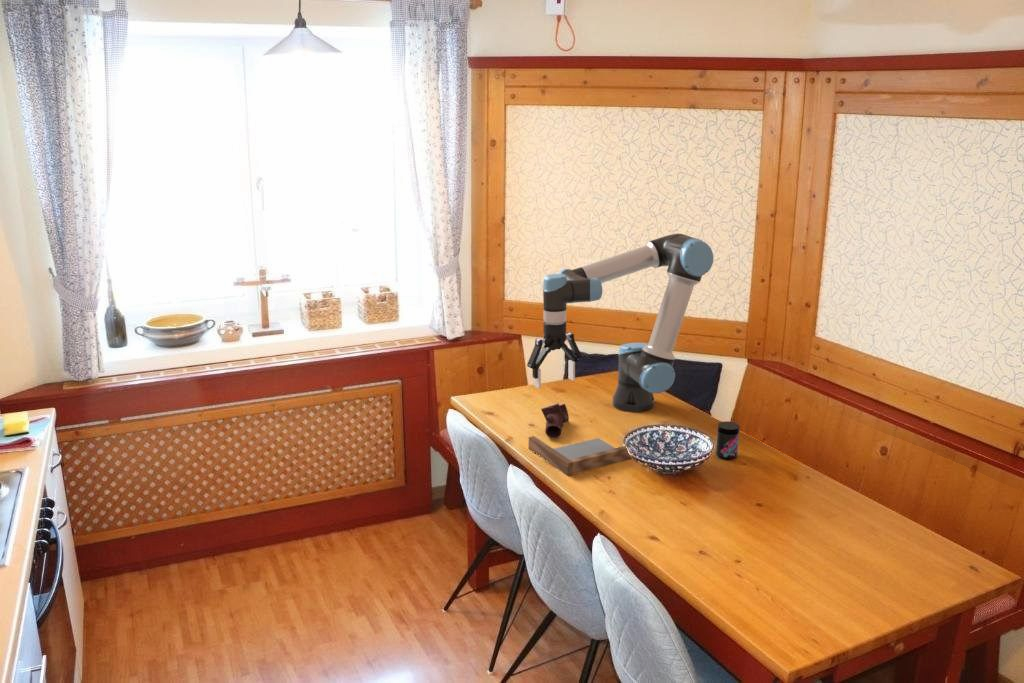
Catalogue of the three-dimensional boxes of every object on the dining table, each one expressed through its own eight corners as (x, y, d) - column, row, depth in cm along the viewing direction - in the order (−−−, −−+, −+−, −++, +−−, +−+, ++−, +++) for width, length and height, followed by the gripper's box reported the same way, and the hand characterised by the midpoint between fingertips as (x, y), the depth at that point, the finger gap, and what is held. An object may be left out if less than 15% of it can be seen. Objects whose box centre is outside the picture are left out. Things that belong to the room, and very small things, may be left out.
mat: (598, 438, 285) (598, 437, 285) (617, 450, 276) (617, 449, 276) (546, 451, 275) (546, 450, 275) (565, 463, 266) (565, 462, 266)
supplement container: (714, 459, 269) (716, 428, 266) (716, 450, 275) (718, 420, 272) (737, 461, 267) (739, 430, 264) (737, 453, 273) (740, 422, 270)
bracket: (570, 412, 300) (559, 389, 296) (567, 440, 285) (556, 417, 281) (553, 417, 302) (542, 394, 298) (550, 445, 287) (539, 422, 283)
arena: (590, 434, 289) (590, 423, 287) (632, 459, 269) (632, 447, 268) (528, 448, 277) (528, 437, 276) (567, 475, 258) (567, 463, 257)
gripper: (579, 313, 291) (578, 373, 297) (516, 325, 278) (517, 386, 285) (592, 318, 285) (591, 379, 291) (528, 330, 272) (529, 393, 278)
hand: (554, 383), depth 288 cm, fingers open, 13 cm apart
